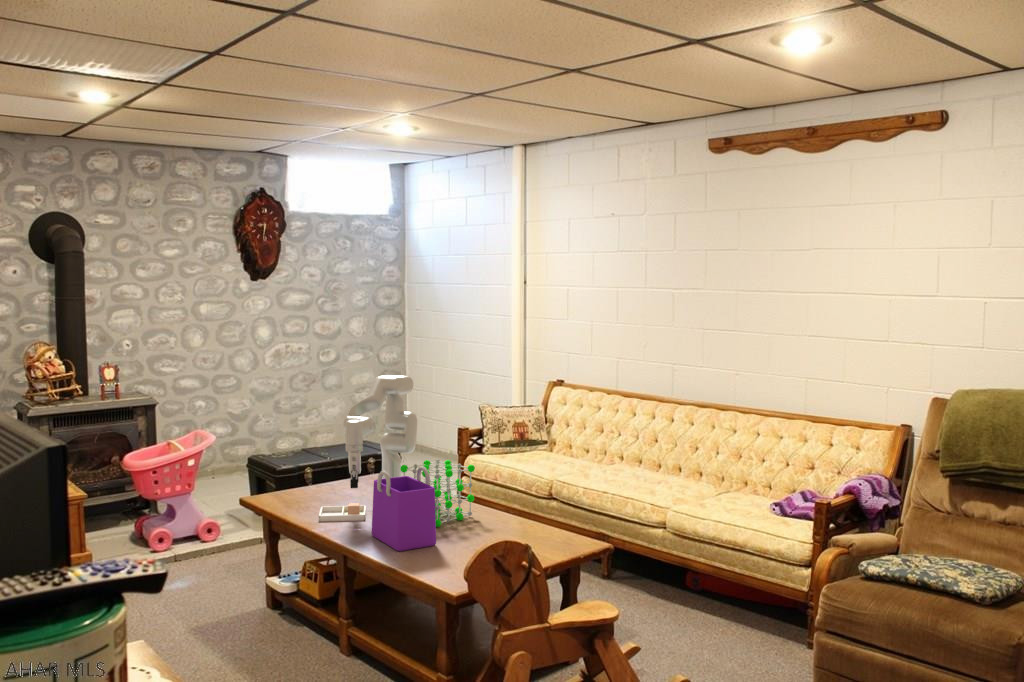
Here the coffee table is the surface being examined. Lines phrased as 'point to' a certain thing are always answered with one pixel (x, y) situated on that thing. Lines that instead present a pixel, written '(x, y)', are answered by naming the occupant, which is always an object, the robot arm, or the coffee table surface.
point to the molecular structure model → (448, 491)
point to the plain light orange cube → (353, 508)
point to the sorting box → (340, 514)
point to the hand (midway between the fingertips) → (354, 485)
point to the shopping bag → (404, 511)
